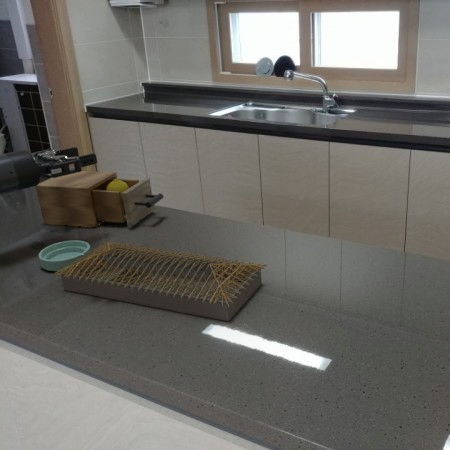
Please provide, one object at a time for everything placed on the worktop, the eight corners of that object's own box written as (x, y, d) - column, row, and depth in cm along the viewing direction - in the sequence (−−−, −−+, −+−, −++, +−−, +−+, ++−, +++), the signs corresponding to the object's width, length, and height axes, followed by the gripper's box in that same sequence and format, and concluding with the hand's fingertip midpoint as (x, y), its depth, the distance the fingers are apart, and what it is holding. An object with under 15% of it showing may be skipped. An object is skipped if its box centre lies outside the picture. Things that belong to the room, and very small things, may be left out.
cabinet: (122, 209, 132) (116, 172, 129) (95, 228, 122) (87, 188, 118) (74, 206, 136) (67, 170, 132) (44, 224, 125) (35, 185, 122)
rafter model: (56, 291, 96) (49, 260, 93) (109, 256, 108) (104, 228, 106) (230, 325, 84) (227, 291, 81) (268, 282, 96) (266, 251, 94)
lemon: (138, 209, 126) (133, 177, 123) (120, 217, 122) (114, 184, 119) (122, 206, 129) (116, 174, 126) (104, 213, 125) (97, 181, 122)
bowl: (30, 270, 104) (27, 259, 103) (61, 249, 112) (59, 238, 111) (73, 274, 101) (70, 262, 100) (101, 253, 110) (99, 242, 109)
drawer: (170, 210, 128) (166, 179, 125) (149, 227, 119) (143, 194, 116) (108, 206, 132) (102, 176, 129) (83, 222, 123) (76, 190, 120)
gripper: (17, 160, 99) (99, 142, 110) (-10, 148, 108) (68, 133, 119) (26, 198, 102) (105, 177, 113) (-1, 183, 111) (75, 165, 122)
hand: (86, 154), depth 116 cm, fingers open, 8 cm apart
